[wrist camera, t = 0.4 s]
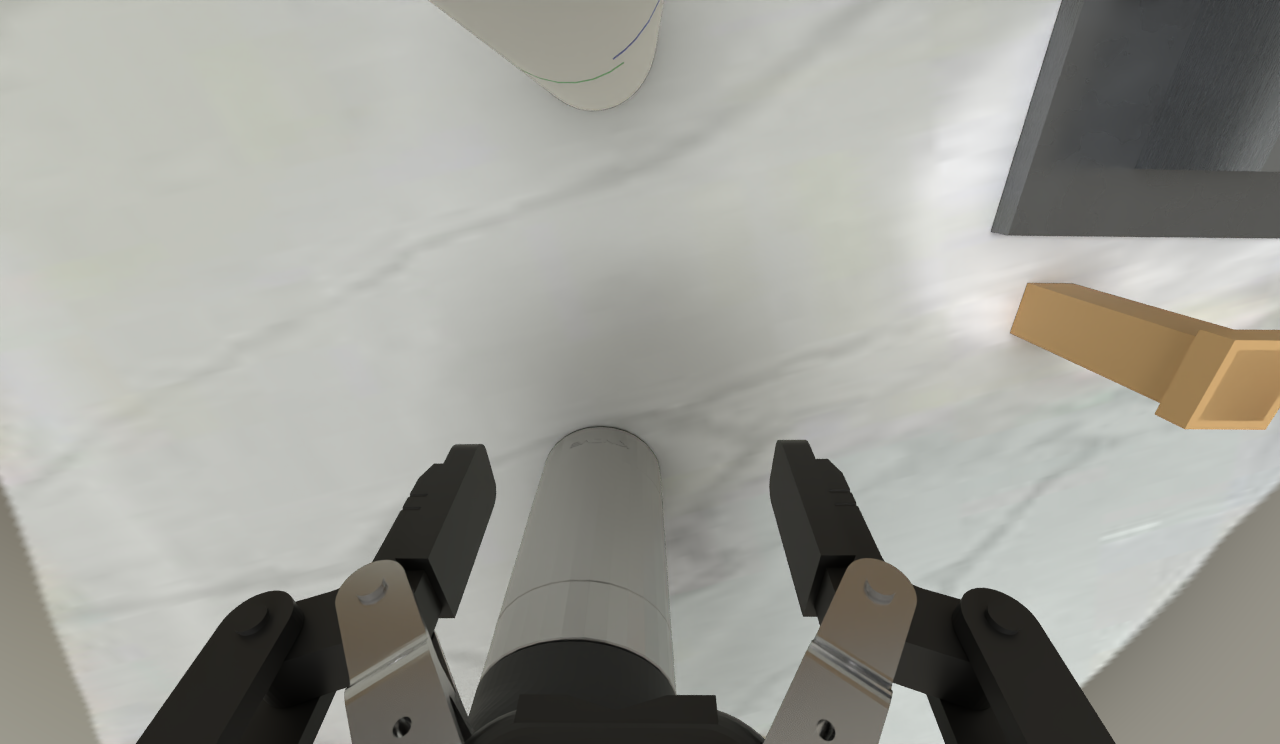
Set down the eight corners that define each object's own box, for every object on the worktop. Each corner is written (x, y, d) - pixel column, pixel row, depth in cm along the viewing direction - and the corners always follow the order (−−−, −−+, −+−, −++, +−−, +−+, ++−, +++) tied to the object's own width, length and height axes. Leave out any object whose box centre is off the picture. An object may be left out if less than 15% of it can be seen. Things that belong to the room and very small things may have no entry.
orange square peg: (1056, 339, 33) (1265, 429, 22) (1002, 339, 33) (1184, 429, 22) (1081, 276, 31) (1323, 340, 20) (1024, 276, 31) (1235, 340, 20)
